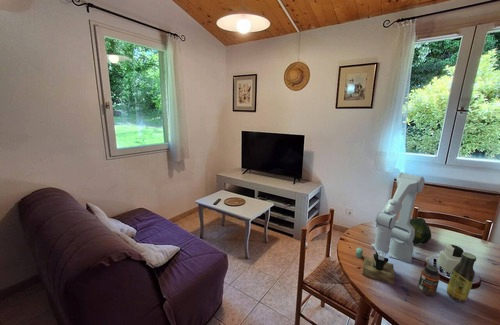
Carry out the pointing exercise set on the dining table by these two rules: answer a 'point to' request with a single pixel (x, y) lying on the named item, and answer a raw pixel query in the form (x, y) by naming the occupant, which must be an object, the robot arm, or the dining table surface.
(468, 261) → the sauce bottle
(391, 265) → the hole block
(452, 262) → the medicine bottle
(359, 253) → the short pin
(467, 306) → the dining table surface
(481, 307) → the dining table surface
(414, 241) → the squash
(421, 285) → the supplement bottle
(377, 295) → the dining table surface
